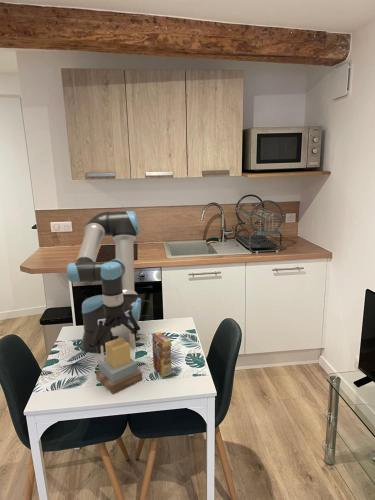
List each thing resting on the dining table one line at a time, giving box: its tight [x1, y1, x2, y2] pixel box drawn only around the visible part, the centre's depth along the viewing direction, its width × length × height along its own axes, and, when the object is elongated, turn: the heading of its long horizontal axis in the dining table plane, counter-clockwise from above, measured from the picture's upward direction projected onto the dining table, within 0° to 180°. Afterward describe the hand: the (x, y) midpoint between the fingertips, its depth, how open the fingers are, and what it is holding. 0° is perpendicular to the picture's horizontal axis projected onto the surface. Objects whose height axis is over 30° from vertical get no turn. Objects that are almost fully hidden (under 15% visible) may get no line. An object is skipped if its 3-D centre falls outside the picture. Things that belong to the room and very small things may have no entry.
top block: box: [98, 358, 139, 383], centre depth 139 cm, size 11×11×4 cm
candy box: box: [151, 331, 172, 378], centre depth 144 cm, size 9×4×15 cm, turn 32°
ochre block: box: [105, 337, 132, 369], centre depth 138 cm, size 7×7×8 cm
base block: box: [95, 369, 143, 395], centre depth 140 cm, size 13×13×4 cm
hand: (117, 354), depth 138 cm, fingers open, 13 cm apart
